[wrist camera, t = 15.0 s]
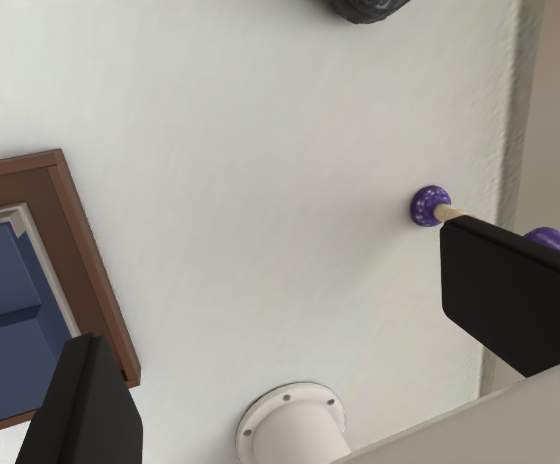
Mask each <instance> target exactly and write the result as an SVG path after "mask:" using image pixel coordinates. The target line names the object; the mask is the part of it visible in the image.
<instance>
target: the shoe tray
mask: <svg viewBox="0 0 560 464" xmlns="http://www.w3.org/2000/svg"><path fill="white" fill-rule="evenodd" d="M20 202H26V204H27V206H28V208H29V211H30V213H31V216H32V218H33V220H34V223H35V225H36V227H37V230H38V232H39V235H40V237H41V239H42V242H43V244H44V247H45V249H46V251H47V254H48V256H49V258H50V261H51V263H52V266H53V268H54V270H55V273H56V275H57V278H58V280H59V282H60V285H61V287H62V289H63V292H64V294H65V297H66V299H67V301H68V304H69V306H70V309H71V311H72V313H73V316H74V318H75V320H76V323H77V325H78V328H79V330H80V332H81V335H84V334H87V333H90V332H93V333H94V334H95V335H96V336H100V335H103V336H104V337H105V338H106V340H107V342H108V344H109V347H110V349H111V351H112V353H113V356H114V358H115V360H116V363H117V365H118V367H119V369H120V372H121V374H122V376H123V378H124V381H125V383H126V385H127V387H128V389H130V388H133V387H136V386H139V385H140V378H141V367H140V364H139V361H138V358H137V356H136V353H135V350H134V347H133V345H132V342H131V339H130V336H129V334H128V331H127V328H126V325H125V323H124V320H123V317H122V314H121V312H120V309H119V306H118V303H117V301H116V298H115V295H114V292H113V290H112V287H111V284H110V281H109V279H108V276H107V273H106V270H105V268H104V265H103V262H102V259H101V257H100V254H99V251H98V248H97V246H96V243H95V240H94V237H93V235H92V232H91V229H90V226H89V224H88V221H87V218H86V215H85V213H84V210H83V207H82V204H81V202H80V199H79V196H78V193H77V191H76V188H75V185H74V182H73V180H72V177H71V174H70V171H69V169H68V166H67V163H66V160H65V158H64V155H63V152H62V149H55V150H50V151H44V152H39V153H34V154H28V155H23V156H18V157H12V158H7V159H2V160H0V207H1V206H6V205H11V204H15V203H20ZM39 408H40V407H39ZM39 408H36V409H33V410H30V411H27V412H23V413H20V414H17V415H14V416H11V417H7V418H4V419H1V420H0V430H1V429H4V428H8V427H11V426H14V425H17V424H20V423H23V422H26V421H29V420H32V417H33V415H34V413H35V412H36V410H37V409H39Z"/></svg>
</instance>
